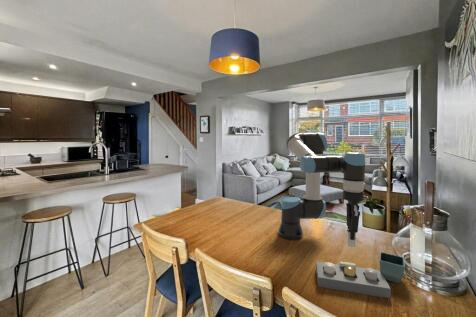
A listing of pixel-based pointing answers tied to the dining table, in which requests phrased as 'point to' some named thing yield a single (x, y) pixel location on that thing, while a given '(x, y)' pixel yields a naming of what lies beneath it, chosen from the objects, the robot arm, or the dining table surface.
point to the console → (352, 281)
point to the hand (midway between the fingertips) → (351, 245)
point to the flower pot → (392, 267)
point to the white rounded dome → (371, 274)
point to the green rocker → (346, 264)
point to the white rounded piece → (329, 268)
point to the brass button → (349, 271)
